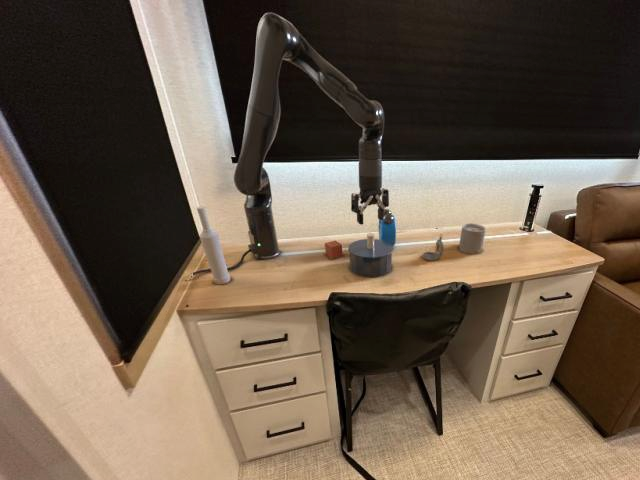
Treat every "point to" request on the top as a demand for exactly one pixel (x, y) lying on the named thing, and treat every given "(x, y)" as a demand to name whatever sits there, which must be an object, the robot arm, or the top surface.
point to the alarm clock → (387, 228)
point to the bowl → (370, 265)
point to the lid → (370, 248)
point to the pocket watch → (439, 251)
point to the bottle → (213, 250)
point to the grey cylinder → (472, 238)
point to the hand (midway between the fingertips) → (370, 221)
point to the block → (333, 249)
